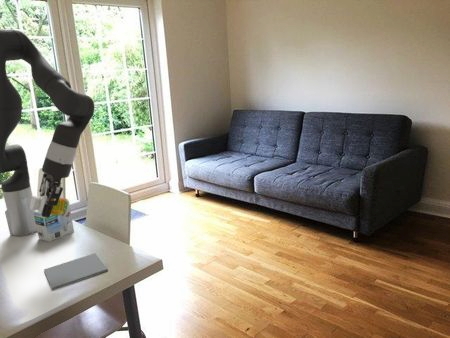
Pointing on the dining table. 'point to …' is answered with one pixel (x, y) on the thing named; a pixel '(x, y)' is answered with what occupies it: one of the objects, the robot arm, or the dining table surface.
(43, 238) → the light bulb box
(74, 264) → the placemat
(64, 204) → the supplement bottle
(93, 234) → the dining table surface
